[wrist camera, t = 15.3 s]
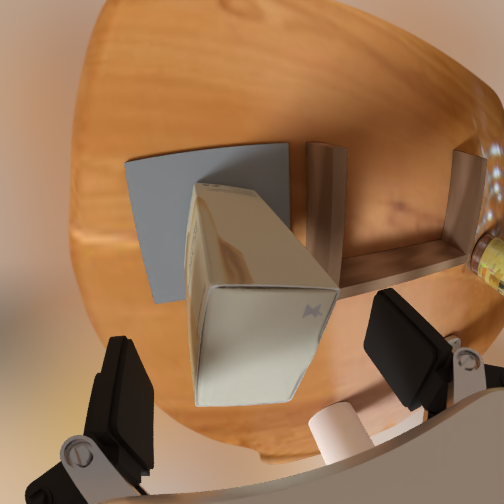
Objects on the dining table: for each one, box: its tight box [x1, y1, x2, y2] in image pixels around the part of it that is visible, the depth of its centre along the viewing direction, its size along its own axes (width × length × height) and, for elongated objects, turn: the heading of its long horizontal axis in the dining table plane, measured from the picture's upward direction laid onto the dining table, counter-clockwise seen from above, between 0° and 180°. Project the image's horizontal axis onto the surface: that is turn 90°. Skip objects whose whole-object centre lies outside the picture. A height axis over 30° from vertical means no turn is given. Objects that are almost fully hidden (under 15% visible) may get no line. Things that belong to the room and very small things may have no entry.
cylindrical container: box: [309, 402, 375, 465], centre depth 26 cm, size 7×7×25 cm
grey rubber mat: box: [124, 143, 290, 304], centre depth 20 cm, size 11×11×1 cm
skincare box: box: [184, 183, 340, 407], centre depth 15 cm, size 6×4×12 cm
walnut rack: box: [306, 142, 487, 300], centre depth 21 cm, size 18×11×4 cm, turn 94°
